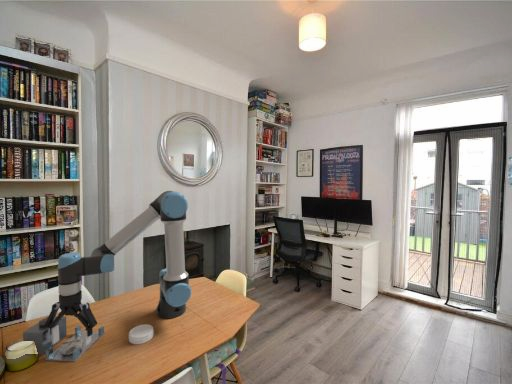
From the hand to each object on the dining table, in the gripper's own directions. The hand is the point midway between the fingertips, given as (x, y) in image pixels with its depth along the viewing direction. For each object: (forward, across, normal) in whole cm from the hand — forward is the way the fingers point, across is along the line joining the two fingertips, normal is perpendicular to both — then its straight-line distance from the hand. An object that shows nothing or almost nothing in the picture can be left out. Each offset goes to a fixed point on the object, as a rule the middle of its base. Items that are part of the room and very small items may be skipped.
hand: (71, 342), depth 104 cm
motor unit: (+3, +6, -3) cm, 7 cm away
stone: (+3, 0, 0) cm, 3 cm away
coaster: (+4, -24, -10) cm, 26 cm away
